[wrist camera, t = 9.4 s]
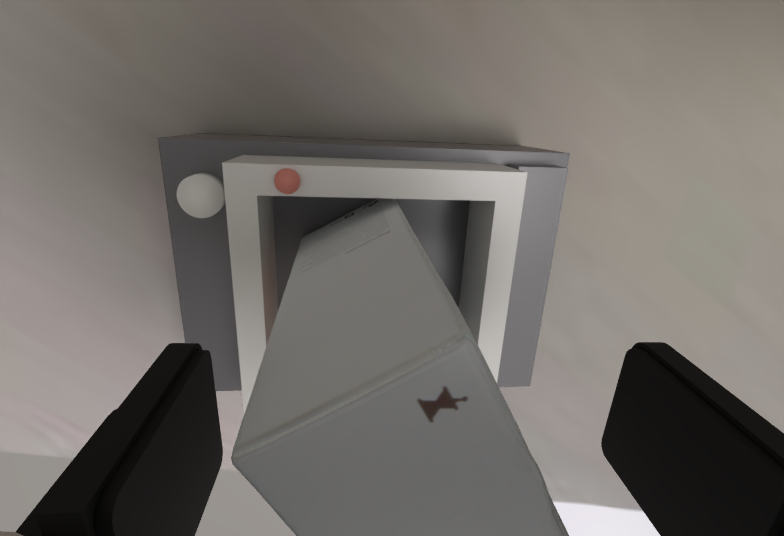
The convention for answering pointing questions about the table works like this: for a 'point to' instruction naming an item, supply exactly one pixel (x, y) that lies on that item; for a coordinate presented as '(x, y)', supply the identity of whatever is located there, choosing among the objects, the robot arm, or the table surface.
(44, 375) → the table surface
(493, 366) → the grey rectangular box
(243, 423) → the skincare box
